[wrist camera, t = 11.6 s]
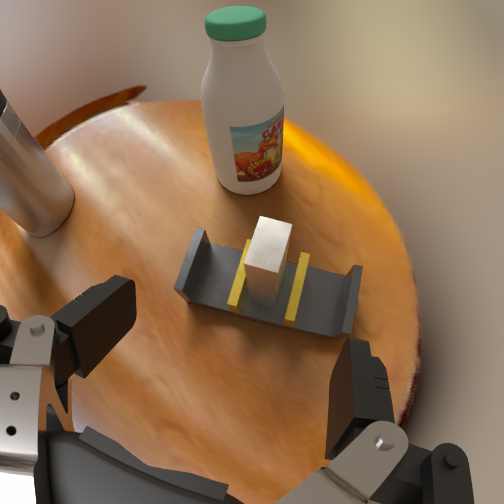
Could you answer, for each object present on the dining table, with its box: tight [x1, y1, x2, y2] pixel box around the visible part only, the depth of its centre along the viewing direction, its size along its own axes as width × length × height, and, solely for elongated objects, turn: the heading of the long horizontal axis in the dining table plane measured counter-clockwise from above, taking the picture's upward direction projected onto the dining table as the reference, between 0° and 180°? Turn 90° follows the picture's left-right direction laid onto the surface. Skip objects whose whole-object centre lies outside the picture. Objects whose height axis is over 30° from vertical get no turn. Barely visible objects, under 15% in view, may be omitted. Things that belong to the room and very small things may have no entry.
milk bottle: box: [201, 6, 284, 195], centre depth 26 cm, size 8×8×20 cm
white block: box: [243, 216, 292, 308], centre depth 24 cm, size 4×2×10 cm, turn 162°
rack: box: [174, 228, 363, 341], centre depth 27 cm, size 6×15×4 cm, turn 74°
